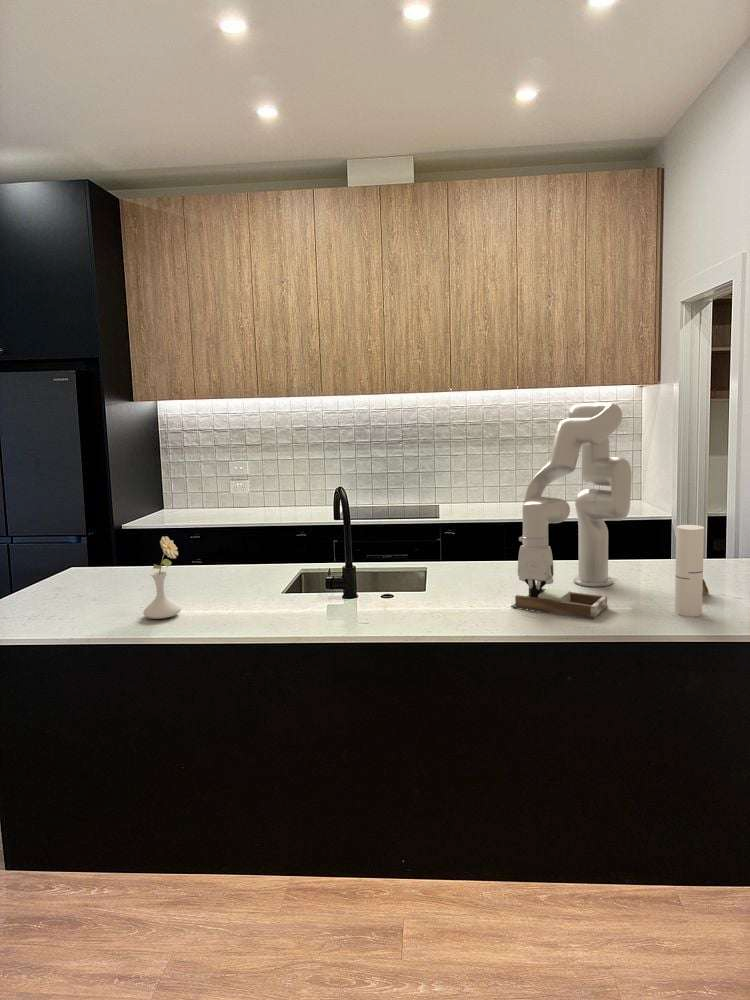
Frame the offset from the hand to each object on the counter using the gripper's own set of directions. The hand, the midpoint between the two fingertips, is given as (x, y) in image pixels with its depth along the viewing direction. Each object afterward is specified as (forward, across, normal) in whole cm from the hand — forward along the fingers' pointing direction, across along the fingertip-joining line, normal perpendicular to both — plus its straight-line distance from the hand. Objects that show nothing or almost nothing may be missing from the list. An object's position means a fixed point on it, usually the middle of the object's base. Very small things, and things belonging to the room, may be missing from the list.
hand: (536, 600), depth 220 cm
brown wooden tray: (+1, +7, 0) cm, 7 cm away
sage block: (+1, +6, 0) cm, 6 cm away
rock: (+2, +39, +30) cm, 49 cm away
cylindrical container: (+2, +41, +12) cm, 43 cm away
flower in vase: (+1, -97, -63) cm, 116 cm away
